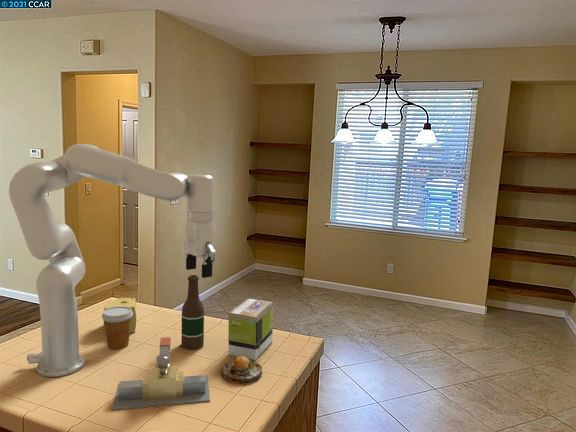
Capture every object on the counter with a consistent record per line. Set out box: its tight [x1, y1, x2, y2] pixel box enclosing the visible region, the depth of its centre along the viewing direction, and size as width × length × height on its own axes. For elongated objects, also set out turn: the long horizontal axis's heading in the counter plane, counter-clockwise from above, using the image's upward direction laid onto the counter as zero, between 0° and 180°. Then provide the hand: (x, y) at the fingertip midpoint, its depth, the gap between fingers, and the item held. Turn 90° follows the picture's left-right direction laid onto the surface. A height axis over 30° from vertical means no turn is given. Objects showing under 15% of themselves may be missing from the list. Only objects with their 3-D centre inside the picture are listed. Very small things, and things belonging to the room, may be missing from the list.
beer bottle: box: [181, 274, 205, 351], centre depth 143 cm, size 8×8×24 cm
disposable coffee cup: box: [101, 306, 133, 351], centre depth 141 cm, size 10×10×12 cm
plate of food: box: [221, 356, 263, 385], centre depth 127 cm, size 12×12×8 cm
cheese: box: [102, 297, 137, 336], centre depth 155 cm, size 10×11×10 cm
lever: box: [156, 336, 172, 369], centre depth 119 cm, size 15×3×2 cm, turn 13°
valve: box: [117, 365, 206, 401], centre depth 114 cm, size 22×6×8 cm, turn 103°
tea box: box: [227, 297, 274, 361], centre depth 143 cm, size 15×10×15 cm, turn 161°
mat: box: [111, 374, 211, 411], centre depth 116 cm, size 24×13×1 cm, turn 103°
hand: (198, 273), depth 129 cm, fingers open, 9 cm apart
